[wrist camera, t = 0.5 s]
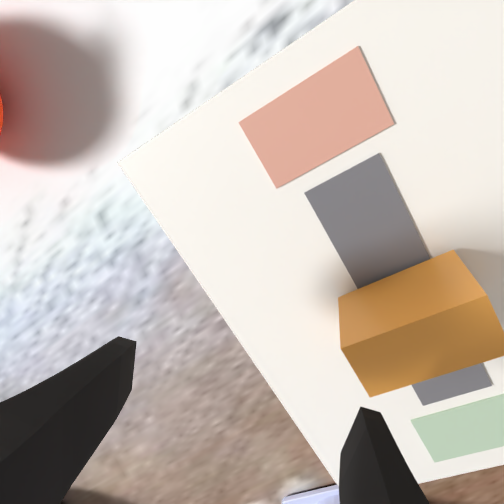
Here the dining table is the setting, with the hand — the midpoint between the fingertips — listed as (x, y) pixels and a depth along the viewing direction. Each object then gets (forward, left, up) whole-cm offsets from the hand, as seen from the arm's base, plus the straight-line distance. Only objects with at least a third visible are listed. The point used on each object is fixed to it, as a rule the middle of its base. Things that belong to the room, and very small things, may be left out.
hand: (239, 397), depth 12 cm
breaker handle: (-3, -5, -6) cm, 9 cm away
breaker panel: (-3, -5, -10) cm, 11 cm away
